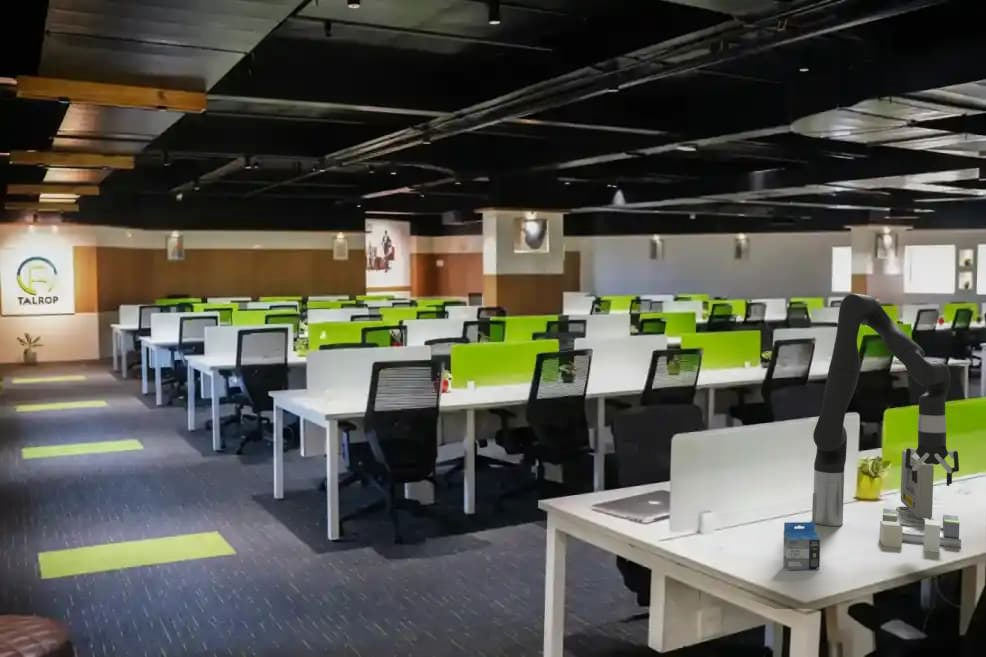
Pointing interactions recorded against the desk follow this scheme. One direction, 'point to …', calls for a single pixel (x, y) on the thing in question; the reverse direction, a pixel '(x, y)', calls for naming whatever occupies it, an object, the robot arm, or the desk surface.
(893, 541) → the block
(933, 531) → the block
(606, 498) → the desk surface
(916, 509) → the network device
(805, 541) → the label tape box
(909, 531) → the grey base with blocks
